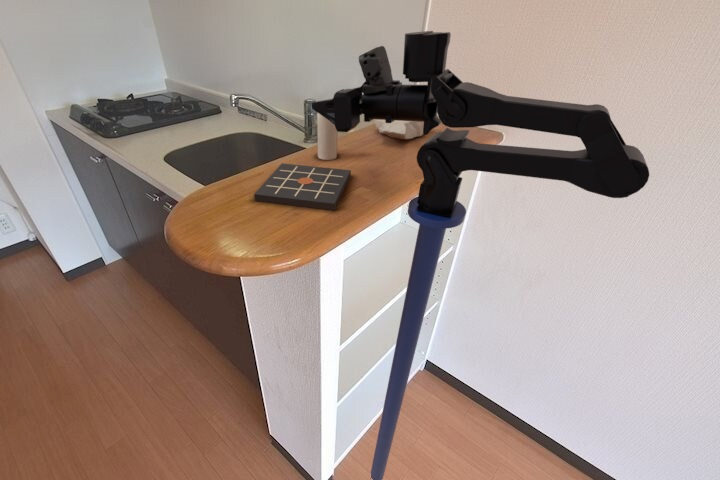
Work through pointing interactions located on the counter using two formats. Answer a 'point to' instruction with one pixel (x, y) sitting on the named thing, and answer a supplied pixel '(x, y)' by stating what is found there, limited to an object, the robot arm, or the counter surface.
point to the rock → (400, 128)
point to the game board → (304, 186)
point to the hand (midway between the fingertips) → (324, 100)
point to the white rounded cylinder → (326, 138)
